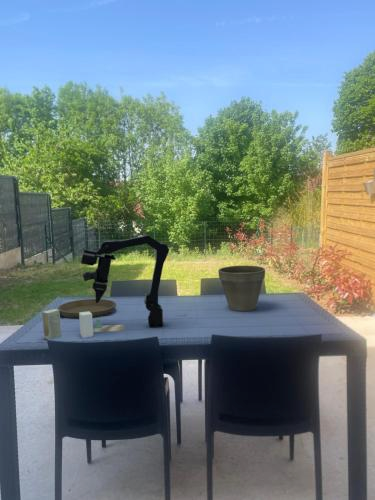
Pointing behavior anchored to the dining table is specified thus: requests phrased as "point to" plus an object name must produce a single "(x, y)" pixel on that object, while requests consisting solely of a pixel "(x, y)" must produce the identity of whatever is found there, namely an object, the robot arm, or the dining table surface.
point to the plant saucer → (87, 308)
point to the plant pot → (242, 286)
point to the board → (109, 328)
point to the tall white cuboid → (86, 324)
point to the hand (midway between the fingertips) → (97, 300)
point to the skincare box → (51, 323)
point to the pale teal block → (98, 322)
